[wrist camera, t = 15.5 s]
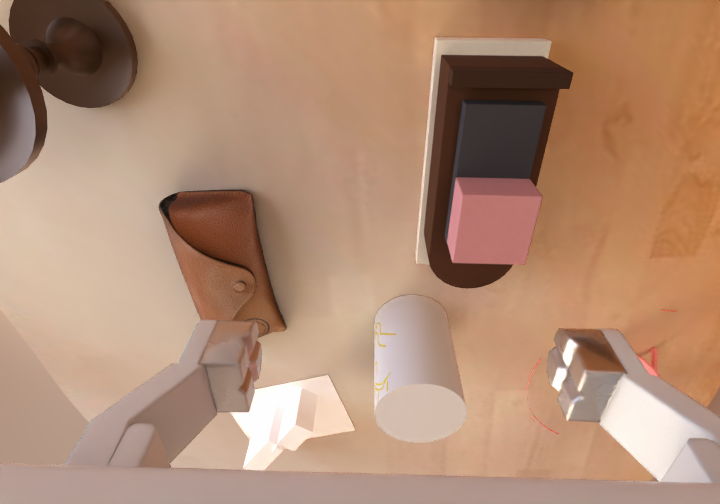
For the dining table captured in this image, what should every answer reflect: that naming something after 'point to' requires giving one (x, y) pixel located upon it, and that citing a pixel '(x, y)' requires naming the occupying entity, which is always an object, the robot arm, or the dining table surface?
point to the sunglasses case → (222, 256)
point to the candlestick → (57, 68)
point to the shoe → (447, 91)
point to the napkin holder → (290, 418)
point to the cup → (416, 371)
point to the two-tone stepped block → (494, 182)
